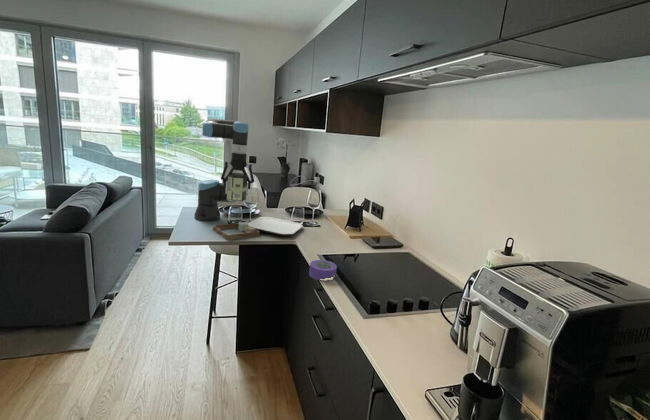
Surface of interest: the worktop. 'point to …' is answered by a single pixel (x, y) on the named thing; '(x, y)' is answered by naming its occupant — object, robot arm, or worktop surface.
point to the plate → (275, 226)
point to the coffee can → (237, 187)
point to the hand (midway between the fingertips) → (236, 194)
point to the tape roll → (322, 269)
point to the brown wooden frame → (234, 236)
